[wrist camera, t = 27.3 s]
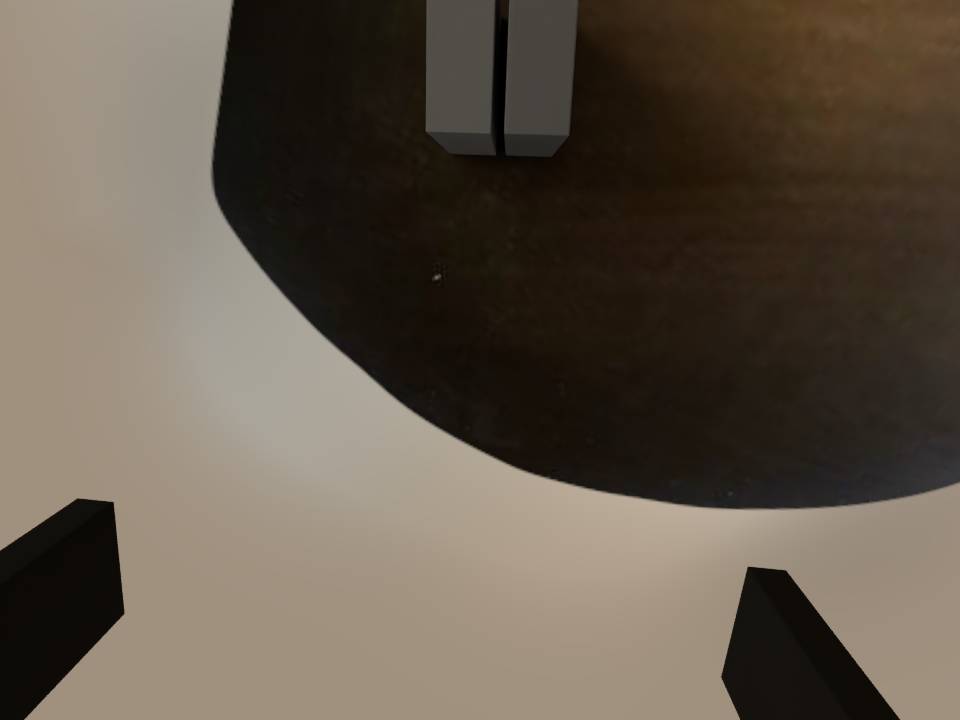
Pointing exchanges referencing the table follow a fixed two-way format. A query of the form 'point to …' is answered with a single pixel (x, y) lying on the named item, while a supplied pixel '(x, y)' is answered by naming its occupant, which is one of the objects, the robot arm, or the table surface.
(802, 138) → the table surface
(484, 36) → the grey book
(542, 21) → the grey book
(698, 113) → the table surface
